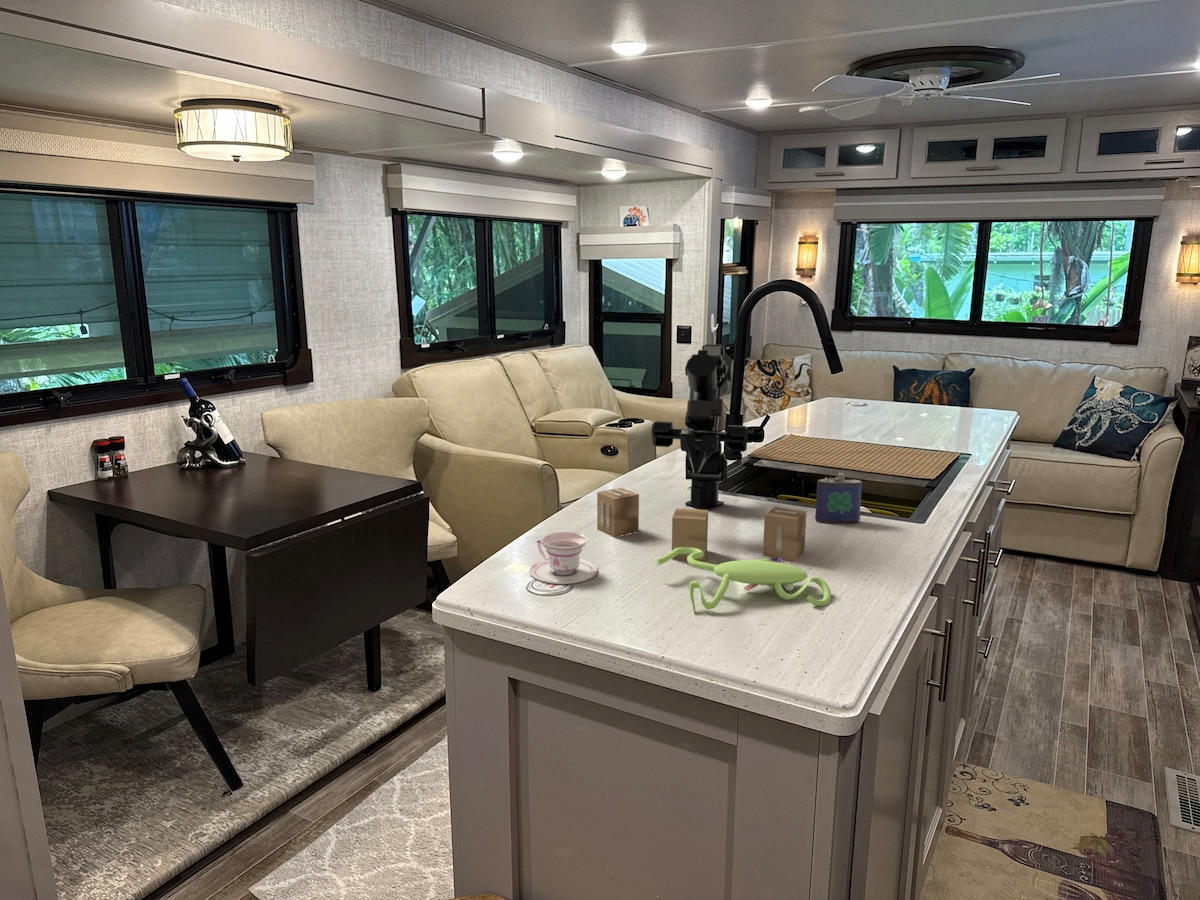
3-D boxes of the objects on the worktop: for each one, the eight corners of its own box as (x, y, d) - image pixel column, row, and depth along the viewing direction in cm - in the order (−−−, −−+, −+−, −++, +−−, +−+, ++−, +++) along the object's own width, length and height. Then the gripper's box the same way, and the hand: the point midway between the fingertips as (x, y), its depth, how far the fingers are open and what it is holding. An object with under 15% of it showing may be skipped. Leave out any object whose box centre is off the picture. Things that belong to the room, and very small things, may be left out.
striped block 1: (621, 524, 170) (621, 486, 168) (638, 532, 165) (638, 493, 163) (596, 530, 167) (596, 491, 165) (613, 538, 162) (613, 498, 160)
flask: (857, 520, 173) (861, 471, 171) (861, 524, 170) (865, 474, 168) (813, 519, 174) (816, 470, 171) (816, 523, 171) (819, 474, 168)
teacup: (605, 564, 148) (605, 531, 146) (586, 589, 136) (586, 553, 135) (543, 558, 151) (542, 526, 150) (519, 581, 140) (518, 547, 138)
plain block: (675, 548, 156) (676, 508, 154) (707, 550, 155) (708, 510, 153) (671, 559, 150) (672, 517, 148) (704, 561, 149) (705, 519, 147)
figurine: (652, 574, 144) (652, 544, 143) (798, 567, 147) (800, 538, 146) (674, 618, 126) (675, 583, 125) (840, 609, 129) (842, 576, 128)
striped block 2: (773, 546, 157) (775, 505, 155) (804, 551, 154) (806, 510, 152) (762, 556, 152) (764, 513, 150) (794, 561, 149) (796, 518, 147)
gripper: (654, 380, 161) (645, 448, 153) (750, 385, 157) (746, 454, 150) (657, 412, 170) (649, 477, 162) (748, 417, 167) (744, 484, 159)
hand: (695, 473), depth 158 cm, fingers closed
